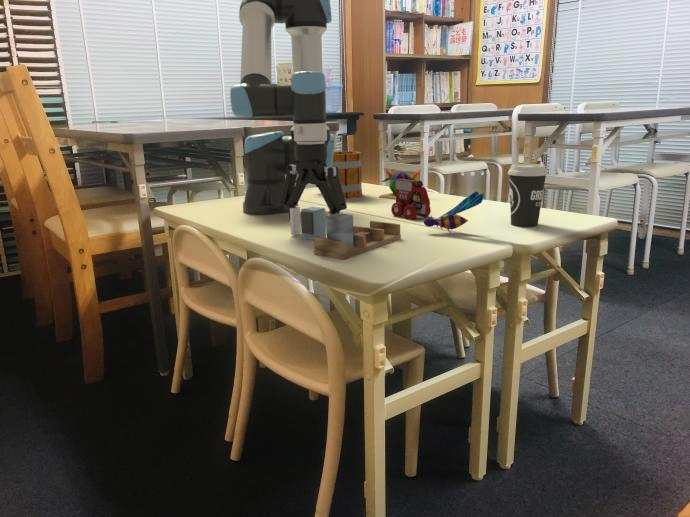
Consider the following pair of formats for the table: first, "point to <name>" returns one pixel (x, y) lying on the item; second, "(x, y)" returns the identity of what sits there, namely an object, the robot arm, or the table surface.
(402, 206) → the toy fire truck
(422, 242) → the table surface
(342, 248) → the wooden block holder
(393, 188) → the toy animal
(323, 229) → the blue gray block
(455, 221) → the toy
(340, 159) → the mug
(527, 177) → the coffee cup
